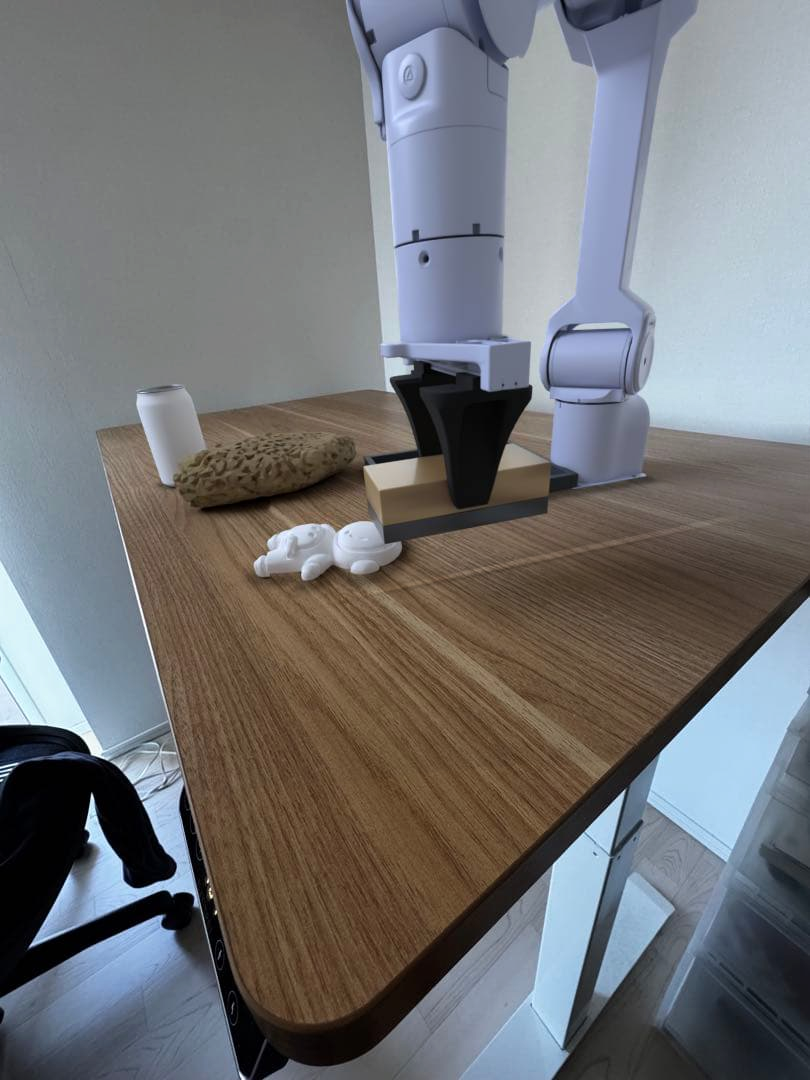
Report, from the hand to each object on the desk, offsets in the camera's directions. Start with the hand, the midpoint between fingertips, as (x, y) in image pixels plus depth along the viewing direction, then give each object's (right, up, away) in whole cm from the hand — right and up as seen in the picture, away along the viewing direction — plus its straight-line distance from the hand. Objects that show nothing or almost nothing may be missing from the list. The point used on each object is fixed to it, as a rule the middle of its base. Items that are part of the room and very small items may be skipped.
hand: (454, 489), depth 30 cm
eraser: (0, -2, +1) cm, 2 cm away
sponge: (-19, +3, +25) cm, 32 cm away
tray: (+3, +4, +24) cm, 24 cm away
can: (-33, +5, +32) cm, 46 cm away
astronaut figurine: (-10, -5, +9) cm, 14 cm away
